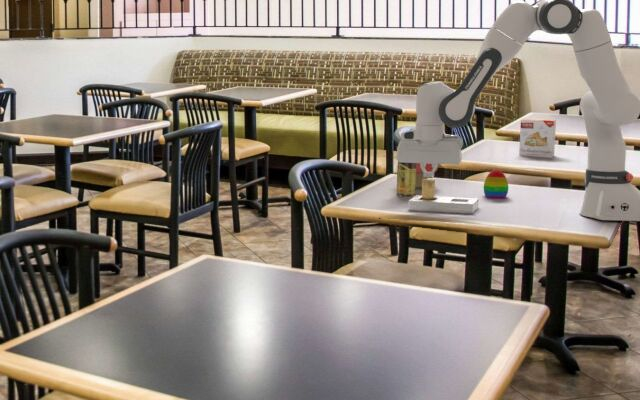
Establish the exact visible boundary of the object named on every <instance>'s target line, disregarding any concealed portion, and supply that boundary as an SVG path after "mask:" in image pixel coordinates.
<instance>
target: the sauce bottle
mask: <svg viewBox="0 0 640 400" xmlns="http://www.w3.org/2000/svg"><path fill="white" fill-rule="evenodd" d="M401 140H403V139H401ZM396 169H397V173H396V195H397V196H399V195H401V196H400V197H412V196H413V195H414V196H415V195H416V188H415V180H416V163H403V162H398V161H397V167H396ZM414 196H413V197H414Z"/></svg>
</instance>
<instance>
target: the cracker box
mask: <svg viewBox="0 0 640 400" xmlns="http://www.w3.org/2000/svg"><path fill="white" fill-rule="evenodd" d="M556 124H557V120H556V119H543V118H521V120H520V133H519V150H518V151H519V152H518V154H519V156H522V157H523V156H525V157H536V158H537V157H539V158H548V159H549V158H550V159H552V158H554V157H555V147H556V146H555V145H556V127H557V126H556Z"/></svg>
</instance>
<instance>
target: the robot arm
mask: <svg viewBox="0 0 640 400" xmlns="http://www.w3.org/2000/svg"><path fill="white" fill-rule="evenodd" d="M537 31H542V32H545V33H547V34H550V35H567V36H568V37H569V39H570V41H571V44H572V48H573V52H574V55H575V59H576V63H577V67H578V70H579V73H580V74H579V75H580V76H581V78H582V80H583V81H585V83H586V84H587V86H588V88H589V91H587V92H585V93H584V94H583V95H582V96H581V99H580V101H579V110H580V112H581V115H582V116H583V119H584V125H585V130H586V136H587V137H586V138H587V168H586V169H585V173H584V187H585V189H584V190H585V191H584V196H583V201H582V205H581V208H580V212H579V215H581V216H584V217H588V218H593V219H597V220H601V221H620V222H621V221H626V222H628V221H629V222H640V190H639V189H638V188H637V187H636V186H635V185H633V184H632V183H631V182H632V180H633V179H634V175H633V174H632V173H630V172H629V171H627V170H626V154H627V144H626V141H625V140H624V137H623V134H622V129H621V127H623V126H627V125H630V124H632V123H634V122H635V121H636V120H637V119H638V118H639V116H640V99H639V98H638V96H637V95H635V93H634V92H633V91H632V89H631V88H630V86H629V84H628V82H627V80H626V78H625V76H624V74H623V72H622V70H621V67H620V66H619V62H618V60H617V56H616V53H615V49H614V47H613V42H612V38H611V35H610V32H609V29H608V26H607V24H606V22H605V20H604V18H603V15H602V14H601V12H600V11H599V10H597V9H595V8H583V9H581V10H580V9H579V8H578V7H577V6H576V5H575V3H573V2H572V1H571V0H538V1H536V2H534V3H531V4H530V3H528V2H525V1H523V0H514V1H512V2H511V3H509V4H508V6H507V7H506V8H505V9H504V10H503V11H502V12H500V14H499V16H498V17H497V18H496V20H495V21H494V22H493V24H492V26H491V27H490V29H488V31H487V33H486V35H485V37H484V39H483V41H482V44H481V46H480V48H479V51H478V54H477V57H476V60H475V62H474V64H473V66H472V67H471V68H470V70H469V72H468V73H467V75H466V76H465V77H464V79H463V80H462V82H461V83H460V85H459V86H458V88H456V89H454V88H451V87H450V86H448V85H446V84H445V83H444V82H443V81H440V80H439V81H438V80H437V81H432V82H426V83H422V84H421V85H420V86H419V87H418V88H417V93H416V103H415V104H416V105H415V106H416V107H415V111H416V120H415V128H410V129H409V130H405V131H403V132H401V133H400V139H401V140H399V142H398V145H397V149H396V161H397V163H398V162H403V163H420V167H421V169H422V171H423V172H424V175H423V177H424V178H427V179H434V174H435V172H434V171H435V170H436V168H437V169H438V165H454V166H458V165H460V164H461V163H462V160H463V159H462V155H463V154H462V148H463V146H464V145H463V143H464V142H463V141H464V140H463V138H462V137H461V136H459V135H458V134H445V126H447V127H449V128H453V129H458V128H459V129H460V128H462V127H465V126H466V125H467V124H469V122H470V121H471V119H472V118H473V116H474V114H475V112H476V104H475V103H476V101H477V99H478V97H479V96H480V94H481V93H482V92H483V90H484V88H485V87H486V86H487V84H488V82H489V81H490V80H491V78H492V77H493V76H494V75H495V74H496V73H497V72H499V71H500V70H501V69H503V68H504V67H506V66H507V65H508V64H509V63H510V62H511V61H512V60H513V59H514V58H515V57H516V56H517V54H518V53H519V52H520V50H521V49H522V48H523V46H524V45H525V44H526V42H527V40H528V38H529V37H530V36H531V35H532V34H533V33H535V32H537ZM402 139H403V140H402ZM426 164H432V167H434V168H433V169H432V171H431V172H427V171H426V169H425V166H426Z"/></svg>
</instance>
